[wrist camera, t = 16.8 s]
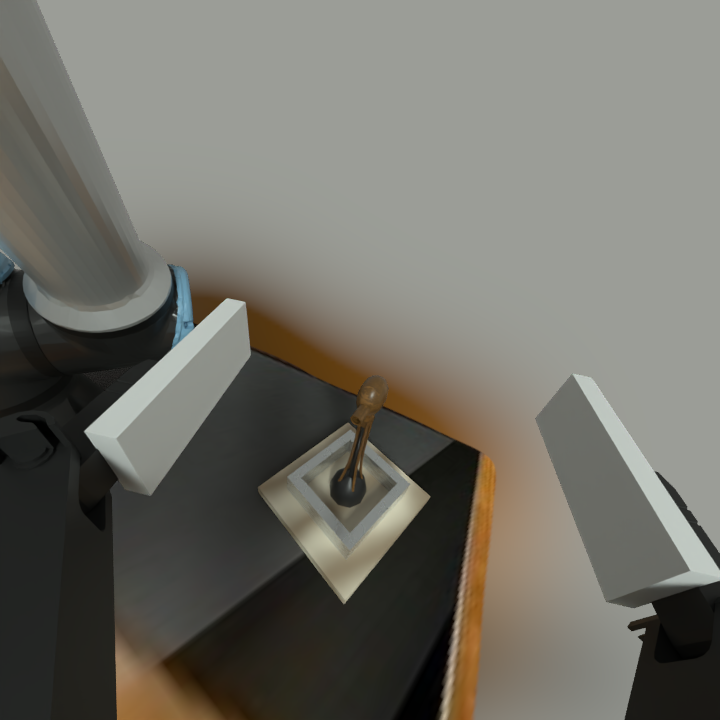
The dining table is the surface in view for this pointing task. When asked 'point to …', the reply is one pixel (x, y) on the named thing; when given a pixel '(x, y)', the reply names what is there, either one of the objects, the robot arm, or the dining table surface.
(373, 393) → the wooden tabletop sculpture
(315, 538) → the stand
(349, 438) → the collar
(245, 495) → the dining table surface
